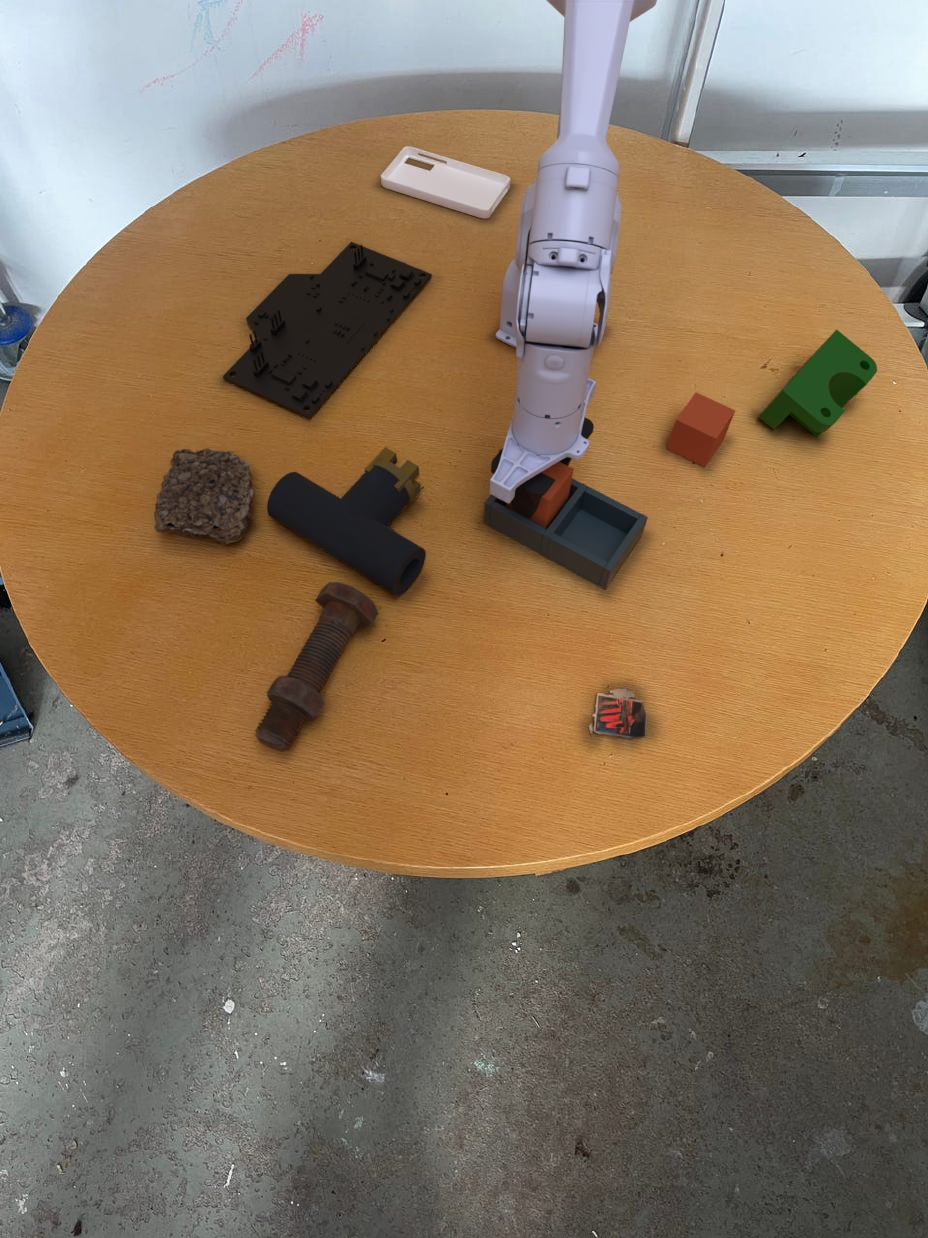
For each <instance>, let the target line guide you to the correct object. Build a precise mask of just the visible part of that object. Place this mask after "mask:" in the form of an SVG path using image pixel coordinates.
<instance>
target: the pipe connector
mask: <svg viewBox="0 0 928 1238" xmlns="http://www.w3.org/2000/svg"><path fill="white" fill-rule="evenodd" d="M397 463H398V456H397V453H396V452H395V451H393V450H391V449H389V448H388V447H386V446H384V448H383V449H382V450H381V451H380V452H379V453H378V454H377V455H376V456H375V457H374V458H373V459H372V461H370V462H369V464H368V465H367V466H366V467H365V468H364V473H363V474H362V475H361V476H360V477H359V478H358V480H356V481H355V483H354V484H352V486H350V488H349V489H348V490H347V491H346V492H345V493H344V494H343V495H342V496H341V497H339V496H337V495H336V494H334V493H332V492H331V491H329V490H327V489H326V488H324V487H323V486H321V485H319V484H318V483H316V482H314V481H312V480H311V479H310V478H307V477H305V476H304V475H302V474H301V473H299V472H298V471H291V472H289V473H286V474H285V475H283V476H282V477H281V478H279V480H278V481H277V482H276V483H275V485H274V486H273V488H272V490H271V492H270V493H269V495H268V499H267V504H266V511H267V514H268V516H269V517H270V518H272V519H273V520H274V521H276V522H278V523H279V524H281V525H283V526H284V527H286V528H288V529H289V530H291V531H292V532H294V533H295V534H297V535H298V536H300V537H302V538H304V539H305V540H306V541H308V542H310V543H311V544H313V545H315V546H316V547H318V548H319V549H321V550H322V551H324V552H325V553H327V554H329V555H331V557H334V558H335V559H336V560H338V561H340V562H341V563H343V564H344V565H346V566H347V567H349V568H351V569H352V570H354V571H356V572H357V573H359V574H361V575H362V576H364V577H365V578H367V579H369V580H370V581H371V582H373V583H375V584H376V585H378V586H380V587H381V588H383V589H384V590H386V591H388V592H389V593H390V594H392V595H394V596H397V597H398V596H401V595H403V594H404V593H406V592H407V591H408V590H409V588H411V587H412V586H413V584H414V583H415V582H416V580H417V579H418V577H419V576H420V573H421V571H422V570H423V567H424V564H425V562H426V557H427V556H426V555H427V553H426V549H424V548H423V547H421V546H420V545H418V544H416V543H415V542H414V541H412V540H410V539H408V538H406V537H405V536H403V535H402V534H400V533H398V532H396V531H395V530H393V529H392V528H390V527H389V525H390V524H391V523H392V522H393V520H394V519H395V518H396V517H397V516H398V515H399V514H402V513H403V512H404V511H406V509H407V507H409V505H411V503H412V502H413V501H414V500H415V499H416V498H417V497H418V495H419V494H420V493H421V492H422V490H421V489H422V487H421V483H420V482H419V481H417V480H416V479H417V478H418V477H419V476H420V466H419V465H417V464H416V463H414V462H412V461H411V460H409V459H407V460H406V461H405V462H404V463H403V464H402V465H401V466H400V467H399V466H397V465H396V464H397Z"/></svg>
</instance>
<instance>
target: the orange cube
mask: <svg viewBox="0 0 928 1238" xmlns="http://www.w3.org/2000/svg"><path fill="white" fill-rule="evenodd" d="M574 470H575V469H574V468H573V467H572V466H570V465H568V466H567V465H565V464H563V463H561V462H557V463H556V464H554V465H552V466H550V467H549V468H547V469H545V470H544V471H542V473H544V474H546V475H548V476H549V477H551V478H553V479H555V480H556V481H555V482H554V483H553V484H552V486H551V487H550V488H549V490H548V491H547V492H546V493H545V494H544V495H543V496H542V497H541V500H540V503H539V505H538V508H537V510H536V511H535V513H534V514H533V515H532V517H531V518H528V517H526V516H524V515H522V514H520V513H519V512H517V511H515V510H513V508H512V505H511V502H510V503H507V506H506V508H508V509H510V510H512V511H514V512H515V513H517V514H519V515H521V516H523V517H525V518H527V519H528V520H530V521H532V522H534V523H536V524H538V525H540V526H541V527H543V528H546V527H547V526H548V524H549V523H550V522H551V520H552V519H553V518H554V516H555V515H556V514H557V512H558V511H559V510H560V508H561V507H562V506H563V504H564V503H565V502H566V500H567V499H568V497H569V492H570V486H571V481H572V478H573V476H574V475H573V474H574Z"/></svg>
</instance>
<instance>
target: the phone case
mask: <svg viewBox="0 0 928 1238" xmlns="http://www.w3.org/2000/svg"><path fill="white" fill-rule="evenodd" d="M419 154H421V155H419ZM426 156H428V157H426ZM430 157H431V158H430ZM433 158H435V159H433ZM409 159H411V160H414V161H417V162H421V163H424V164H427V165H431V166H433V167H432V168H431V169H430V170H428V169H425V168H421V167H418V166H415V165H412V164H409V163H406V162H407V161H408V160H409ZM439 160H440V161H439ZM380 183H381V184H380V185H381V186H382V187H383V188H384V189H387V190H391V191H394V192H397V193H400V194H403V195H407V196H409V197H412V198H415V199H419V200H422V201H425V202H428V203H431V204H435V205H438V206H441V207H443V208H444V207H445V208H447V209H450V210H454V211H457V212H460V213H463V214H466V215H470V216H473V217H476V218H478V219H483V220H484V219H487V220H488V219H489V218H491V216H492V214H494V211H495V210H496V209H497V208H498V206H499V205H500V203H501V202H502V200H503V199H504V197H505V196H506V195H507V193H508V191H509V190H510V189H511V177H510V176H508V175H506V174H504V173H499V172H496V171H493V170H490V169H486V168H483V167H480V166H477V165H473V164H470V163H467V162H463V161H460V160H457V159H453V158H451V157H448V156H447V157H446V156H443V155H441V154H437V153H433V152H431V151H427V150H423V149H421V148H416V147H414V146H410V145H409V146H407V145H405V146H404V147H403V148H402V149H401V150H400V151H399V152H398V153H397V155H396V156H395V157H394V158H393V160H392V161H391V162H390V163H389V164H388V166H387V167H386V168H385V169H384V171H383V172H381V174H380Z"/></svg>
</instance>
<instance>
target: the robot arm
mask: <svg viewBox="0 0 928 1238" xmlns="http://www.w3.org/2000/svg"><path fill="white" fill-rule="evenodd" d="M546 2H547V3H548V4H550V6H552V8H554V9H555V10H556V11H557V12H558V13H559V14H560V15H561V16H562V17H563V18H564V20H563V39H562V40H563V41H562V42H563V43H562V63H561V64H562V65H561V85H560V87H561V88H560V105H559V113H558V122H557V133H556V140H555V141H554V142H553V143H552V144H551V145H550V146H549V147H548V148H547V149H546V150H545V151H544V153H542V155H541V156H540V158H539V159H538V163H537V172H536V180H535V181H533V182H532V183H531V184H529V185H528V186H527V187H526V191H524V193H523V196H522V200H521V208H520V212H519V219H518V228H517V236H516V247H515V256H514V257H513V258H512V260H511V262H510V264H509V265H508V267H507V269H506V272H505V274H504V278H503V280H502V281H503V282H502V286H501V297H500V313H499V314H500V316H499V329H498V330H497V331H496V333H495V338H496V339H497V340H499V341H500V342H503V343H505V344H507V345H510V346H511V347H513V348H515V358H516V359H517V365H516V377H515V390H514V401H513V413H512V417H511V421H510V423H509V427H508V431H507V434H506V438H505V441H504V444H503V447H502V448H501V449H500V450H499V451H498V453H497V454H496V455H495V456H494V457H493V459H492V461H491V464H490V473H491V474H492V477H490V479H489V491H488V492H489V494H490V495H491V494H492V495H493V496H495V497H497V498H499V499H500V500H503V501H505V502H506V503H510V502H511V505H512V508H513V510H515V511H517V512H519V513H520V514H522V515H524V516H526V517H528V518H531V517H532V515H533V514H534V513H535V511H536V510H537V508H538V505H539V503H540V500H541V497H542V496H543V495H544V494H545V493H546V492H547V491H548V490H549V488H550V487H551V486H552V484H553V483H554V482H555V481H556V480H555V479H553V478H551V477H549V476H548V475H546V474H544V473H542V471H544V470H545V469H547V468H549V467H550V466H552V465H554V464H556V463H557V462H561V463H563V464H565V465H567V466H570V463H571V461H572V460H575V461H579V460H581V459H582V458H583V457H584V456H585V455H586V453H587V452H588V450H589V448H590V440H589V438H590V437H591V436H592V435H593V432H594V429H595V426H594V423H593V421H592V420H590V418H588V417H586V413H587V408H588V404H589V403H590V402H591V401H592V399H593V398H594V397H595V391H596V386H597V381H596V380H594V379H591V378H590V373H591V372H590V371H591V366H592V362H593V355H594V350H595V346H596V348H600V346H601V343H602V341H603V338H604V334H605V331H606V327H607V323H608V322H607V321H608V315H609V309H610V300H611V291H612V274H613V271H614V267H615V262H616V256H617V251H618V244H619V243H618V242H619V236H620V228H621V227H620V226H621V216H622V201H621V200H620V194H619V193H618V186H619V179H620V178H619V177H620V170H621V167H620V163H619V161H618V159H617V158H616V156H615V155H614V153H613V151H612V149H611V148H610V146H609V145H608V142H607V136H608V131H609V125H610V120H611V115H612V111H613V106H614V101H615V97H616V91H617V86H618V82H619V77H620V73H621V66H622V62H623V57H624V52H625V48H626V42H627V37H628V32H629V28H630V24H631V22H633V21H634V20H636V19H638V18H639V17H641V16H642V15H644V14H645V13H647V12H648V11H650V10H651V9H653V8H654V7H655V6H656V5H657V2H658V0H546ZM597 305H598V312H599V313H598V314H599V316H598V323H596V322H594V321H595V316H596V308H597Z"/></svg>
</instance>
